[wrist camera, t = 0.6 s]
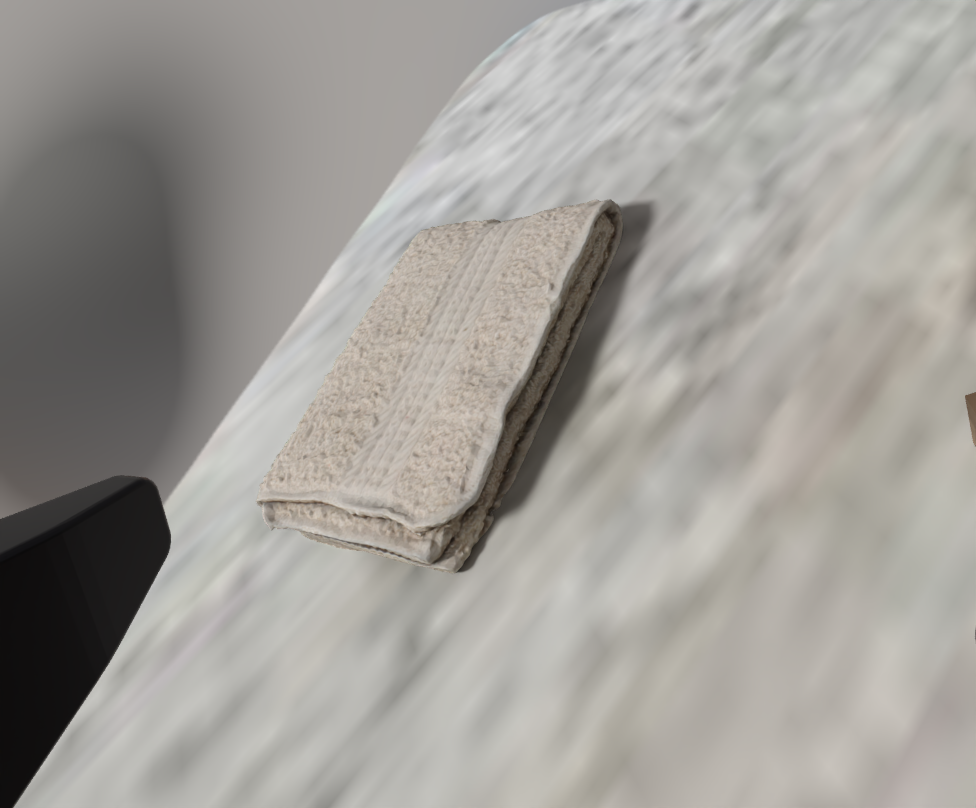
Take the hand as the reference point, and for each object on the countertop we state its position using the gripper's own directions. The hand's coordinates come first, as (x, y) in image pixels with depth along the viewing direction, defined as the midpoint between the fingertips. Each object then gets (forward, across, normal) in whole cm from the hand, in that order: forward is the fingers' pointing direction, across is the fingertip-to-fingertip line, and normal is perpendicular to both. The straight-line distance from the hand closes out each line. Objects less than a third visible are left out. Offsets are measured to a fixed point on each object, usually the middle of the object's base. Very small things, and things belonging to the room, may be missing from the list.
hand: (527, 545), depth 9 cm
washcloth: (+24, +8, +10) cm, 27 cm away
